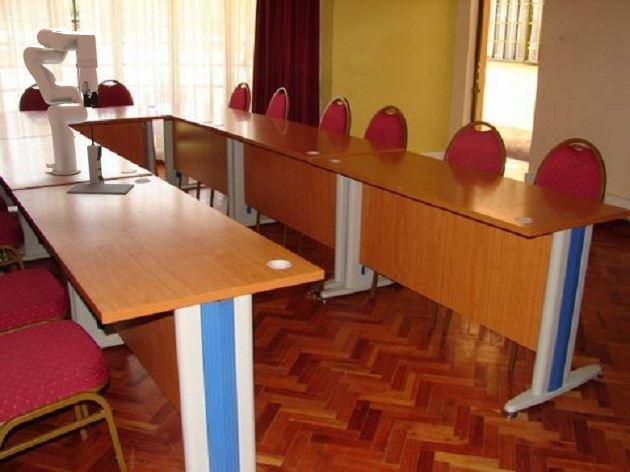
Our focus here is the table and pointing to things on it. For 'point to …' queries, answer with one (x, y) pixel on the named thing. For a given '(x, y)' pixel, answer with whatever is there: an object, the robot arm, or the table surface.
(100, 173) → the vintage mobile phone
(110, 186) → the mat
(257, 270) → the table surface
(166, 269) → the table surface
